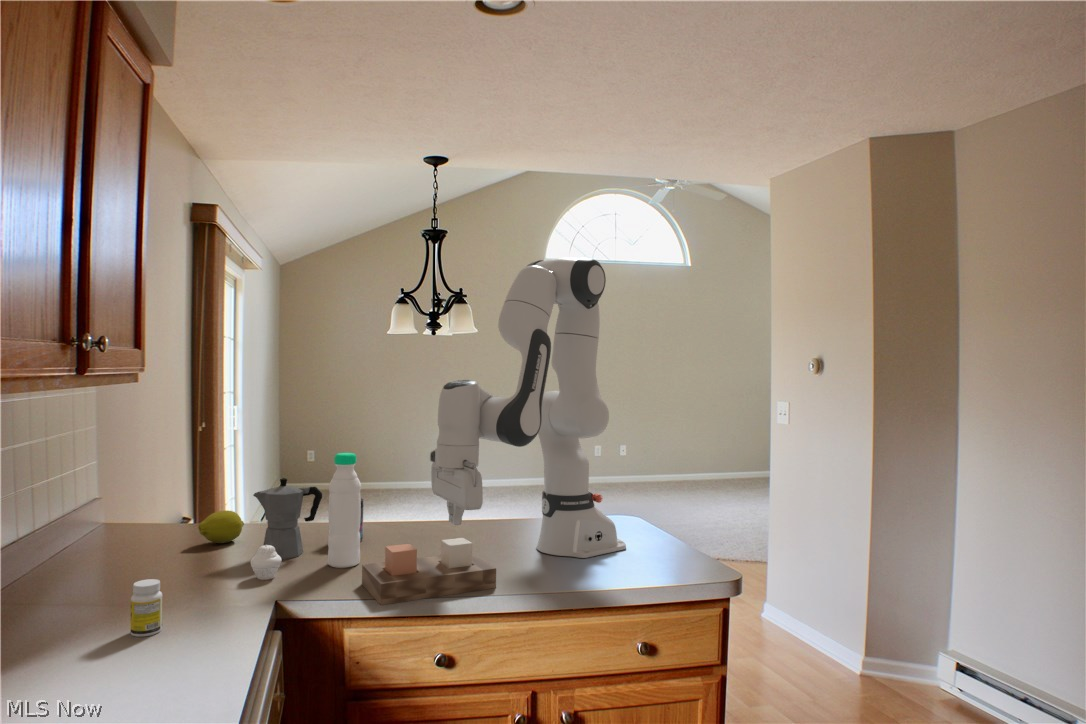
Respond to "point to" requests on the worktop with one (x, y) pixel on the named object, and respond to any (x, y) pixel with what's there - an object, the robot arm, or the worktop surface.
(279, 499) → the coffeepot
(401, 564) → the terracotta key
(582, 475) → the robot arm
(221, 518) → the lemon
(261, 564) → the muffin
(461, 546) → the cream key
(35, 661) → the worktop surface
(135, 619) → the supplement bottle
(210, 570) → the worktop surface
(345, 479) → the water bottle
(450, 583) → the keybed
